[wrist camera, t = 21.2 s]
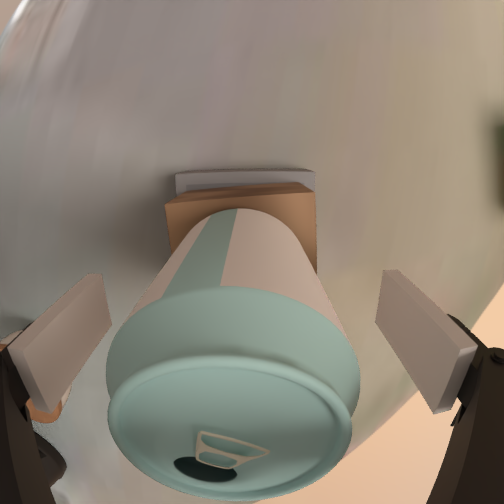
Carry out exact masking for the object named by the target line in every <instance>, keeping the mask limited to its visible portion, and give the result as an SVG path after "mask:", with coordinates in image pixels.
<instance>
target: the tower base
mask: <svg viewBox="0 0 504 504" xmlns="http://www.w3.org/2000/svg"><path fill="white" fill-rule="evenodd" d="M288 182H299V183H301V184H303V185H304V186H306V187H307V188H309V189H311V190H312V191H314V192H315V172H314V171H311V170H307V169H223V170H197V171H185V172H181V173H178V174H175V183H176V197H177V196H179V195H181V194H182V193H184V192H185V191H190V190H200V189H210V188H221V187H232V186H244V185H258V184H272V183H288Z"/></svg>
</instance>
